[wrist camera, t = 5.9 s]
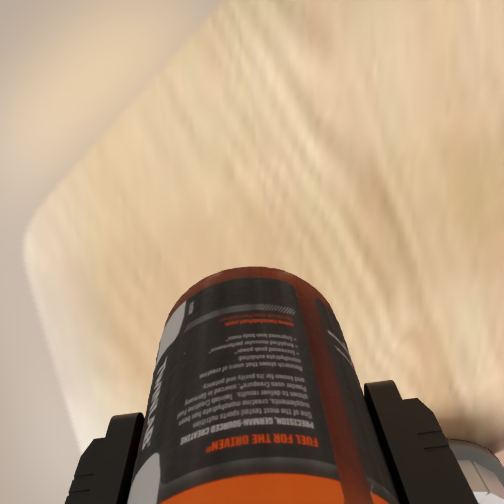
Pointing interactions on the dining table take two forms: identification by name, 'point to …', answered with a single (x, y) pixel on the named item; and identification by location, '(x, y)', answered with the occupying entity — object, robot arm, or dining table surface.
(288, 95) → the dining table surface
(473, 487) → the bottle socket
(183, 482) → the supplement bottle
